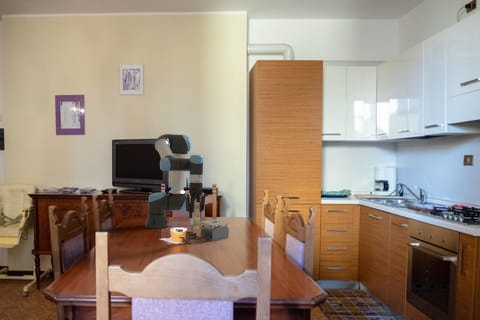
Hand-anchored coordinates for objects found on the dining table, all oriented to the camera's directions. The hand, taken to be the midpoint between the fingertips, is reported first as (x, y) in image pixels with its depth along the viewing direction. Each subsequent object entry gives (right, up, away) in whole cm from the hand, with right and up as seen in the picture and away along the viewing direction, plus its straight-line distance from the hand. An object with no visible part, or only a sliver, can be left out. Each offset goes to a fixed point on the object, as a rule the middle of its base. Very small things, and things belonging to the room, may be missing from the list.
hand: (194, 223), depth 177 cm
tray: (0, -11, 0) cm, 11 cm away
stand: (-5, -11, +10) cm, 15 cm away
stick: (0, -4, 0) cm, 4 cm away
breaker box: (+10, -11, +11) cm, 19 cm away
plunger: (+10, -6, +11) cm, 16 cm away
